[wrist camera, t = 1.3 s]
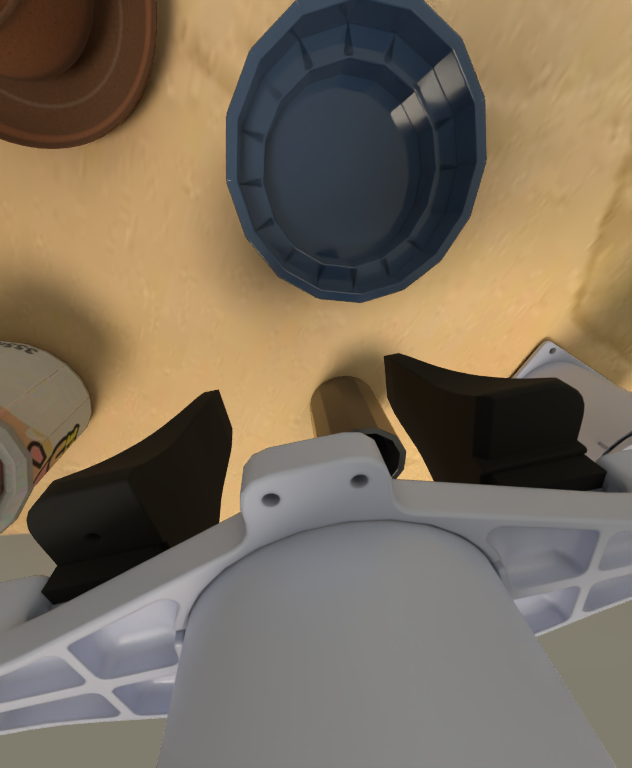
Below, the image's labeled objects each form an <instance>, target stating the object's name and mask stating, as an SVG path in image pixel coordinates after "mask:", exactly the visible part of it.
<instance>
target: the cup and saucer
mask: <svg viewBox="0 0 632 768" xmlns="http://www.w3.org/2000/svg"><path fill="white" fill-rule="evenodd" d="M156 37H157V1H156V0H0V139H2V140H5V141H8V142H11V143H15V144H19V145H23V146H28V147H34V148H44V149H60V148H70V147H75V146H80V145H83V144H87V143H90V142H93V141H95V140H97V139H99V138H101V137H103V136H105V135H106V134H108V133H109V132H111V131H112V130H114V129H115V128H116V127H117V126H118V125H119V124H121V123H122V122H123V121H124V119H125V118H126V117H127V116H128V115H129V114H130V113H131V111H132V110H133V108H134V107H135V105H136V104H137V102H138V100H139V99H140V97H141V95H142V93H143V91H144V88H145V86H146V83H147V81H148V78H149V75H150V71H151V68H152V64H153V59H154V53H155V48H156Z"/></svg>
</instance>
